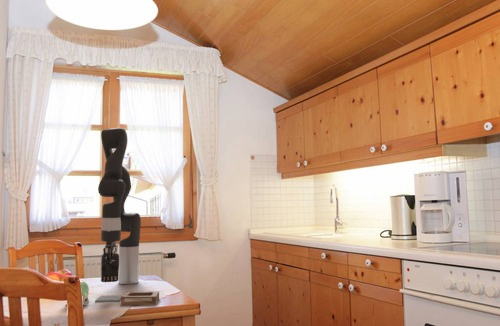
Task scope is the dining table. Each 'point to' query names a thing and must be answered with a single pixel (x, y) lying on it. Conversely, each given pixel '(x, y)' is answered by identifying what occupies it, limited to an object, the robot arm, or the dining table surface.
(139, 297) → the frame
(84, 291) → the frog
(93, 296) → the dining table surface
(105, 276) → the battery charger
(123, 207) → the robot arm
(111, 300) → the mat
